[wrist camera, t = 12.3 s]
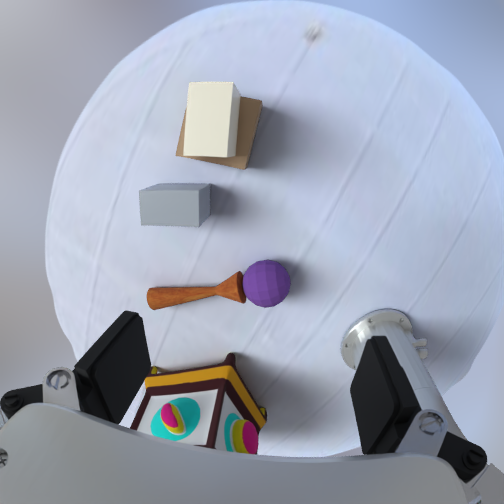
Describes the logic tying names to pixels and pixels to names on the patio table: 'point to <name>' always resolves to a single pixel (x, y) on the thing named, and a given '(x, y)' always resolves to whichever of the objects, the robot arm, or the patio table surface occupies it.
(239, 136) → the walnut block
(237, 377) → the decorative lantern
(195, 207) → the slate grey brick
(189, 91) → the cream brick
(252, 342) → the patio table surface
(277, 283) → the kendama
